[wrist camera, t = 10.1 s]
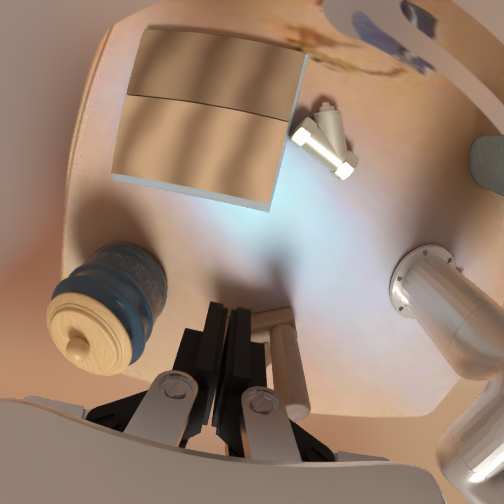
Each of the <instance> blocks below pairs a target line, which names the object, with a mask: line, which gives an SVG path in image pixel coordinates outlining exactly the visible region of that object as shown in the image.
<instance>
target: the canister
mask: <svg viewBox="0 0 504 504" xmlns="http://www.w3.org/2000/svg"><path fill="white" fill-rule="evenodd" d="M166 298H167V282H166V278H165V275H164V272H163V270H162V268H161V266H160V265H159V263H158V262H157V261H156V260H155V258H154V257H153V256H152V255H151V254H149V253H148V252H147V251H145V250H144V249H142V248H140V247H138V246H136V245H133V244H129V243H114V244H110V245H107V246H104V247H102V248H101V249H99V250H98V251H96V252H95V253H94V254H93V255H92V256H91V257H90V259H89V260H88V261H86V262H85V263H84V264H83V265H82V266H80V267H78V268H76V269H75V270H74V271H73V272H72V273H71V274H70V275H69V277H68V278H66V279H64V280H63V281H61V282H60V283H59V284H58V285H57V286H56V288H55V290H54V292H53V295H52V298H51V302H50V304H49V306H48V309H47V314H46V319H47V326H48V330H49V333H50V335H51V337H52V339H53V341H54V343H55V344H56V346H57V347H58V349H59V350H60V351H61V353H62V354H63V355H64V356H65V357H66V358H67V359H68V360H69V361H70V362H72V363H73V364H74V365H76V366H78V367H79V368H81V369H83V370H86V371H88V372H91V373H94V374H98V375H105V376H109V375H115V374H118V373H121V372H122V371H124V370H125V369H126V368H127V367H128V366H129V365H131V364H133V363H134V362H136V361H137V360H138V359H139V358H140V357H141V355H142V353H143V351H144V348H145V343H146V342H147V341H148V339H149V337H150V335H151V333H152V329H153V326H154V324H155V322H156V320H157V318H158V317H159V315H160V314H161V312H162V310H163V308H164V306H165V303H166Z"/></svg>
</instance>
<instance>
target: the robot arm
mask: <svg viewBox="0 0 504 504" xmlns="http://www.w3.org/2000/svg"><path fill="white" fill-rule="evenodd" d="M389 292H390V300H391V303H392V305H393V307H394V308H395V310H396V311H397V312H398V313H399V314H400V315H402V316H404V317H406V318H411V319H416V320H417V321H418V323H419V324H420V325H421V327H422V328H423V329H424V331H425V332H426V333H427V334H428V336H429V337H430V338H431V340H432V341H433V342H434V344H435V345H436V347H437V348H438V349H439V351H440V352H441V353H442V355H443V356H444V357H445V359H446V360H447V362H448V363H449V364H450V366H451V367H452V368H453V370H454V371H455V372H456V373H457V374H458V375H459V376H461V377H463V378H465V379H468V380H476V381H482V380H488V383H487V385H486V387H485V388H484V390H483V391H482V392H481V393H480V395H479V397H478V398H477V399H476V400H475V401H474V402H473V403H472V404H471V405H470V407H469V408H468V409H467V410H466V411H465V412H464V413H463V414H462V415H461V416H460V417H459V418H458V419H457V420H456V421H455V422H454V423H453V424H452V425H451V426H450V427H449V428H448V429H447V431H446V432H445V433H444V434H443V435H442V436H441V438H440V439H439V441H438V443H437V446H436V450H435V458H436V462H437V465H438V468H439V470H440V471H441V473H442V475H443V476H444V477H445V479H446V480H447V481H448V482H449V483H450V484H451V485H452V486H453V487H454V488H455V489H456V490H457V491H458V492H459V493H460V494H461V495H462V496H463V497H465V498H466V499H467V500H468V501H469V502H470V503H471V504H504V309H503V308H502V307H501V306H500V305H499V304H498V303H496V302H495V301H494V300H493V299H492V298H491V297H489V296H488V295H487V294H486V293H485V292H483V291H482V290H481V289H480V288H479V287H477V286H476V285H475V284H474V283H473V282H471V281H470V280H469V279H468V278H466V277H465V276H464V275H463V274H461V273H460V272H459V271H457V270H456V265H455V261H454V258H453V257H452V255H451V254H450V253H449V252H448V251H447V250H446V249H444V248H443V247H441V246H438V245H434V244H428V245H423V246H421V247H418V248H416V249H414V250H413V251H411V252H410V253H409V254H408V255H406V256H405V257H404V259H403V260H402V261H401V262H400V263H399V265H398V266H397V268H396V270H395V272H394V274H393V276H392V279H391V283H390V290H389ZM227 312H228V309H227V308H223V304H220V303H216V302H211V301H210V305H209V309H208V314H207V318H206V322H205V326H204V331H203V332H202V331H197V330H193V329H188V328H185V331H184V334H183V337H182V340H181V343H180V346H179V349H178V352H177V356H176V359H175V362H174V365H173V369H172V370H170V371H165V372H163V373H161V374H159V375H158V376H157V377H156V378H155V380H154V381H153V383H152V385H151V386H150V388H149V390H146V391H144V392H141V393H138V394H135V395H132V396H129V397H127V398H124V399H120V400H117V401H114V402H111V403H108V404H105V405H101V406H98V407H96V408H94V409H92V410H86V409H84V406H79V405H74V404H69V403H64V402H59V401H54V400H50V399H46V398H42V397H38V396H29V397H26V398H24V399H23V400H22V399H14V398H0V504H447V502H446V500H445V497H444V495H443V493H442V491H441V489H440V487H439V485H438V483H437V482H436V480H435V478H434V477H433V476H432V475H431V474H430V473H429V472H428V471H427V470H425V469H423V468H421V467H418V466H415V465H411V464H407V463H402V462H393V461H389V460H388V459H386V458H383V457H376V456H368V455H361V454H354V453H348V452H343V451H338V452H337V453H333V452H332V451H331V450H330V449H329V448H328V447H327V446H325V445H324V444H323V443H321V442H320V441H318V440H317V439H316V438H314V437H313V436H312V435H310V434H309V433H308V432H306V431H305V430H304V429H302V428H301V427H300V426H298V425H297V424H296V423H295V422H293V421H292V420H291V419H290V418H289V417H288V414H287V411H286V407H285V404H284V401H283V399H282V397H281V396H280V395H279V394H278V393H277V392H275V391H274V390H272V389H270V388H267V378H266V361H265V345H264V343H258V342H252V341H251V310H250V309H245V308H240V307H238V308H237V310H232V311H231V315H230V319H229V323H228V328H227V332H226V336H225V340H224V335H225V327H226V319H227ZM223 342H224V345H223ZM215 390H216V393H215ZM214 395H215V401H214V409H213V417H212V426H213V427H217V429H216V435H218V436H219V437H220V438H221V439H222V440H223V441H224V442H225V456H224V455H218V454H211V453H205V452H200V451H195V450H189V449H186V448H187V446H188V443H189V439H190V437H193V436H195V435H197V434H199V433H200V432H201V428H202V425H207V424H208V419H209V415H210V411H211V407H212V403H213V399H214Z"/></svg>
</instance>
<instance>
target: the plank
mask: <svg viewBox="0 0 504 504" xmlns="http://www.w3.org/2000/svg"><path fill="white" fill-rule="evenodd" d="M287 127H288V122H285V121H281V120H277V119H273V118H268V117H264V116H260V115H255V114H251V113H246V112H242V111H237V110H232V109H226V108H221V107H216V106H210V105H204V104H198V103H191V102H184V101H177V100H169V99H161V98H151V97H141V96H129V95H126V98H125V102H124V107H123V111H122V116H121V121H120V126H119V131H118V136H117V141H116V147H115V153H114V159H113V166H112V173H114V174H120V175H126V176H132V177H138V178H144V179H149V180H155V181H160V182H166V183H171V184H176V185H181V186H186V187H191V188H196V189H201V190H206V191H211V192H216V193H221V194H225V195H230V196H234V197H239V198H244V199H248V200H252V201H257V202H261V203H265V204H269V200H270V196H271V192H272V188H273V184H274V180H275V176H276V172H277V168H278V164H279V160H280V156H281V152H282V148H283V144H284V140H285V135H286V131H287Z"/></svg>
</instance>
